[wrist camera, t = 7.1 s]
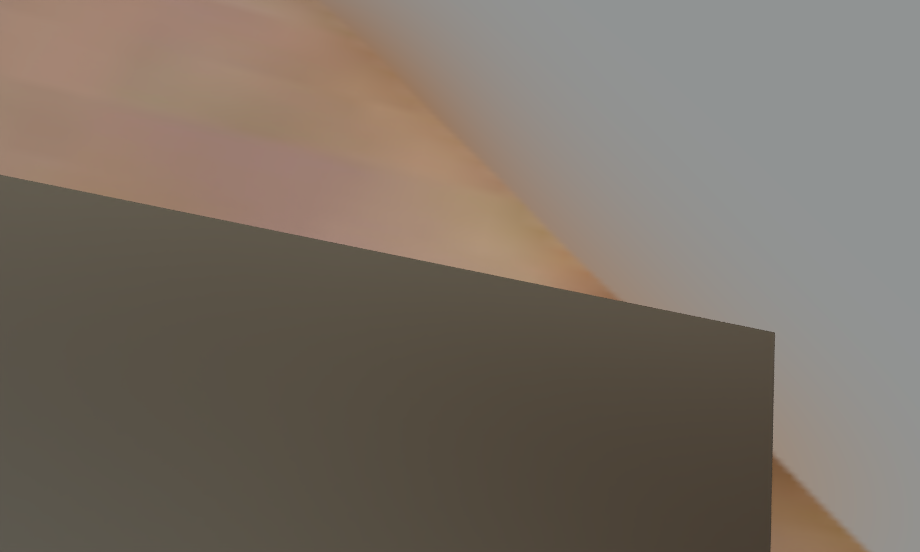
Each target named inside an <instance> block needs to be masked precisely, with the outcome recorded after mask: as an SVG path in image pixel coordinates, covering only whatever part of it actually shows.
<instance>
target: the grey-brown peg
mask: <svg viewBox="0 0 920 552" xmlns="http://www.w3.org/2000/svg"><path fill="white" fill-rule="evenodd" d="M774 347H775V333H774V332H769V331H764V330H759V329H754V328H750V327H745V326H740V325H735V324H730V323H725V322H720V321H715V320H710V319H705V318H701V317H695V316H690V315H686V314H681V313H676V312H671V311H665V310H661V309H656V308H651V307H647V306H642V305H637V304H632V303H627V302H622V301H617V300H612V299H607V298H602V297H597V296H593V295H588V294H583V293H578V292H573V291H568V290H563V289H558V288H553V287H548V286H543V285H539V284H534V283H529V282H524V281H519V280H514V279H509V278H504V277H499V276H494V275H489V274H485V273H480V272H475V271H470V270H465V269H460V268H455V267H450V266H445V265H440V264H435V263H431V262H426V261H421V260H416V259H411V258H406V257H401V256H396V255H391V254H386V253H381V252H377V251H372V250H367V249H362V248H357V247H352V246H347V245H342V244H337V243H332V242H327V241H323V240H318V239H313V238H308V237H303V236H298V235H293V234H288V233H283V232H278V231H273V230H269V229H264V228H259V227H254V226H249V225H244V224H239V223H234V222H229V221H224V220H219V219H215V218H210V217H205V216H200V215H195V214H190V213H185V212H180V211H175V210H170V209H165V208H161V207H156V206H151V205H146V204H141V203H136V202H131V201H126V200H121V199H116V198H111V197H107V196H102V195H97V194H92V193H87V192H82V191H77V190H72V189H67V188H62V187H57V186H53V185H48V184H43V183H38V182H33V181H28V180H23V179H18V178H13V177H8V176H3V175H0V552H770V546H771V496H772V447H773V396H774Z"/></svg>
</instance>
